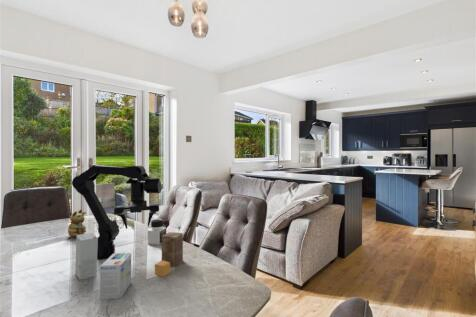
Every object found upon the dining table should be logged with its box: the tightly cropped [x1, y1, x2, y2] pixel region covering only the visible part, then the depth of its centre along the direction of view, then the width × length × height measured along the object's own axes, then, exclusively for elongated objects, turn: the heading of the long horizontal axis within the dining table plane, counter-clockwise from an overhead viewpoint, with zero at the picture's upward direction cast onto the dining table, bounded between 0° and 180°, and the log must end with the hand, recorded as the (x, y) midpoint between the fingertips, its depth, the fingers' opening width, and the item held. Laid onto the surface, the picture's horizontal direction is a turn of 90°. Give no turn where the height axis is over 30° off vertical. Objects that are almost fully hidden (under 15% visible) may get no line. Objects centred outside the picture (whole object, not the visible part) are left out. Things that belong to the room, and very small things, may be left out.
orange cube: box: [154, 259, 171, 277], centre depth 99 cm, size 4×4×4 cm
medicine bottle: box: [147, 218, 167, 246], centre depth 136 cm, size 7×7×12 cm
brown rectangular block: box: [161, 231, 184, 268], centre depth 109 cm, size 6×6×12 cm
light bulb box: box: [99, 252, 132, 300], centre depth 86 cm, size 11×7×11 cm, turn 5°
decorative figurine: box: [67, 209, 87, 238], centre depth 147 cm, size 10×8×15 cm
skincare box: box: [74, 232, 98, 281], centre depth 98 cm, size 8×6×15 cm
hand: (137, 227), depth 116 cm, fingers open, 9 cm apart
